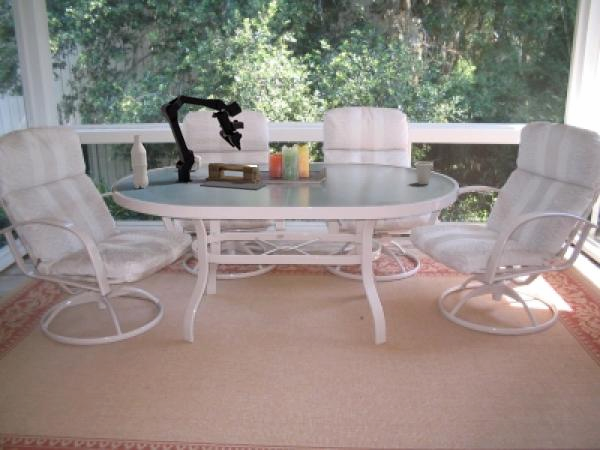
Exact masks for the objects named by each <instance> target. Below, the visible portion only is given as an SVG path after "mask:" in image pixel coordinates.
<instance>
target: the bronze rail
mask: <svg viewBox="0 0 600 450" xmlns="http://www.w3.org/2000/svg"><path fill="white" fill-rule="evenodd" d="M221 163H222V162H209V163H208V165H219V170H222V171H224V172H237V173H238V172H239V173H240V172H241V173H243V167H253V170H254V173H257V172H258V173H259V165H258V166H256V165H257V164H235V163H234V164H233V163H224V164H221Z"/></svg>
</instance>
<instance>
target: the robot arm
mask: <svg viewBox="0 0 600 450" xmlns="http://www.w3.org/2000/svg"><path fill="white" fill-rule="evenodd" d="M185 104H188V105H194V106H201V107H205V108H208V109H209V110H212V111H213V112H212V115H211V118H214V119H217V121H218V123H219V128H220V129H221V130H220V131H219V132H218V133H219V136H220V137H221V139H223V140H224V141H225V142H226V143H227V144H228V145H229V146H230V147H232V148H236V149H237V150H238V151H241V150H242V147H241V139H242V138H243V133H242V132H240V131H237V130H241V129H242V130H243V129H244V128H245V125H244V124H245V123H244V121H239V120H238V119H234V120H233V121H231V119H230V117H231V118H234V117H236V116H238V115H240V114H241V113H242V112H243V109H242V107H241V106H240V104H238V103H237V101H236V100H233V101H232V102H230V103H228V104H226V103H225V102H224V101H223V100H222V99H220V98H201V97H194V96H188V95H185V94H179V95H177V96H176V97H175V98H173V99H172V100H169V101H168V102H167V103H163V104H162V105H161V107H160V111H161V114H162V115H163V117H164V119H165V120H166V122H168V125H169V127H170V131H171V132H172V136H173V139H174V142H175V143H176V146H177V149H178V152H177V153H178V155H177V156H178V160H177V162H176V163H175V164H174V167H175V169H177V178H178V179H176V181H175V183H190V182H192V181H193V180H194V179H191V171H192V170H193V169H192V166H193V164H194V163H195V159H194V158H195V156H194V150H192V149H190V148H188V145H187V143H186V140H185V138H184V134H183V132H182V129H181V126H180V124H179V120H178V119H179V113H178V111H179V110H180V109H181V108H182V107H184V105H185ZM214 111H216V112H214Z"/></svg>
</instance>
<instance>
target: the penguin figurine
mask: <svg viewBox="0 0 600 450" xmlns="http://www.w3.org/2000/svg"><path fill="white" fill-rule="evenodd" d="M194 156H195V158H194V159H195V163H194V164H193V166H192V169H191V170H194V172H198V171H200V169H201V167H202V157H201V156H200V155H198V154H195V155H194Z"/></svg>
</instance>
